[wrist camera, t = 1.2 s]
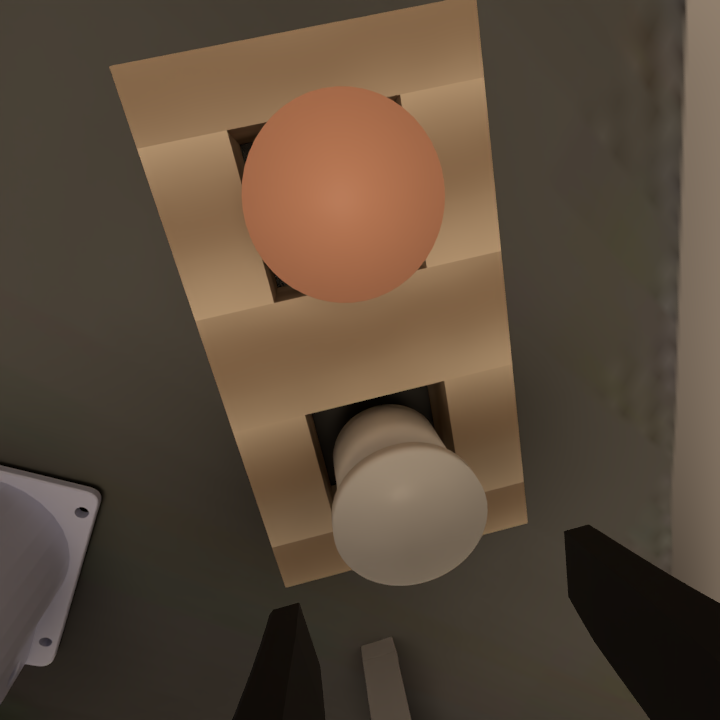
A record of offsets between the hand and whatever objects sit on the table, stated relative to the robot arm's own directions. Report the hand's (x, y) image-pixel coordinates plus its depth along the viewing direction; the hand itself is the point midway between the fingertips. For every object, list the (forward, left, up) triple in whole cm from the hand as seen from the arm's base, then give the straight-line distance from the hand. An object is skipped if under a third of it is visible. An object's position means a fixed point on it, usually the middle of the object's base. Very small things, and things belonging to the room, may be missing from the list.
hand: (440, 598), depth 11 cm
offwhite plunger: (0, 0, -7) cm, 7 cm away
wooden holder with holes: (+4, +3, -9) cm, 10 cm away
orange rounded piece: (+7, +5, -7) cm, 11 cm away
